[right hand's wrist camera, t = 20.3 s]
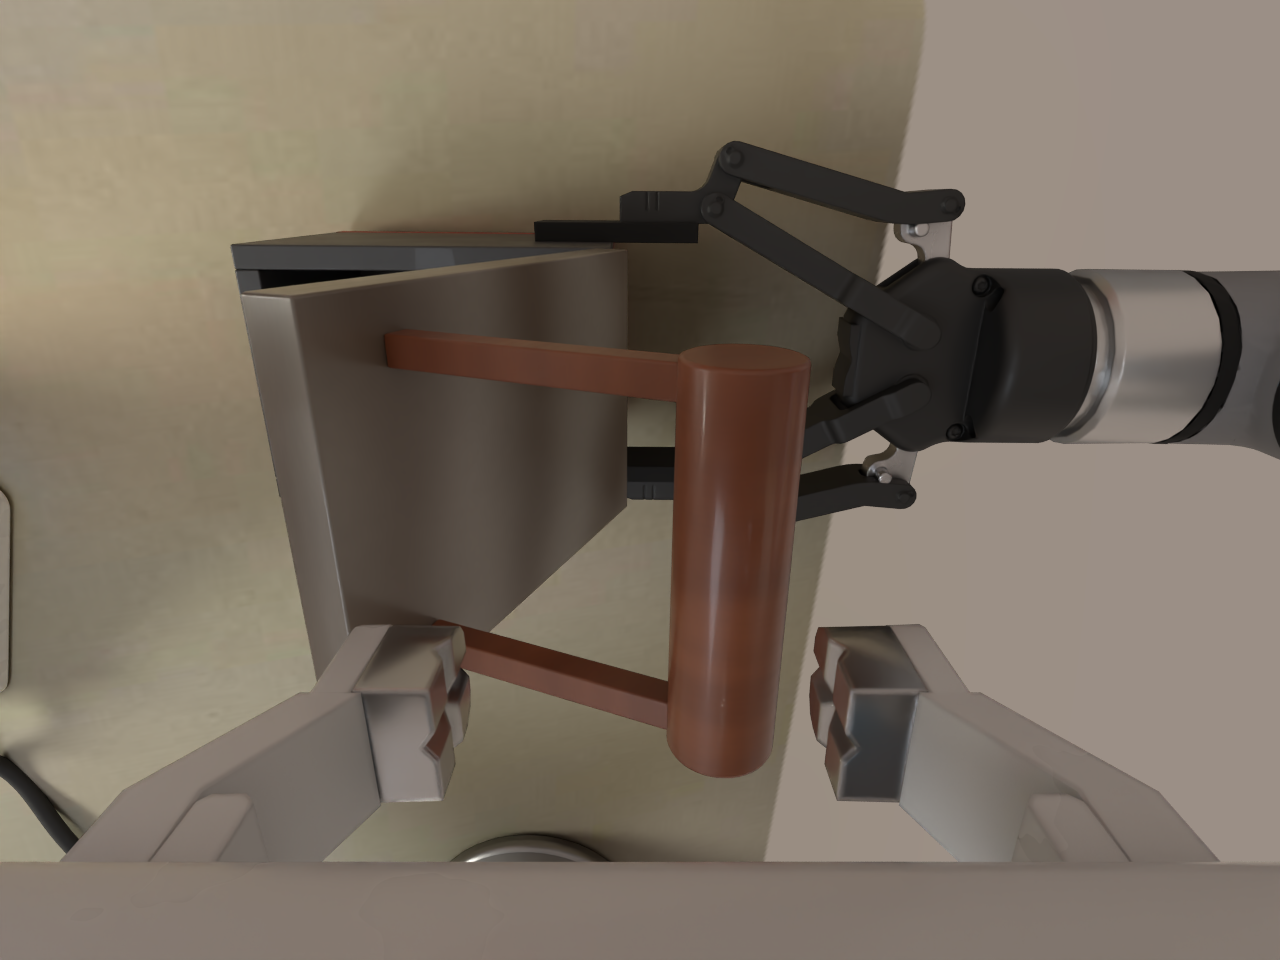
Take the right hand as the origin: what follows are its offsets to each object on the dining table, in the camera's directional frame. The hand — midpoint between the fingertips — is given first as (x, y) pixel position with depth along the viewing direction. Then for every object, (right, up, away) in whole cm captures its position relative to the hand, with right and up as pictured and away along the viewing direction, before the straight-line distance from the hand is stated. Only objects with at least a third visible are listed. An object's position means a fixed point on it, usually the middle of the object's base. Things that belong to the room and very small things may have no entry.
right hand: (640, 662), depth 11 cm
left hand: (-4, +8, +20) cm, 22 cm away
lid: (-4, +4, +10) cm, 11 cm away
